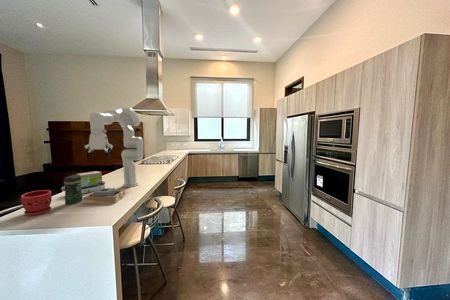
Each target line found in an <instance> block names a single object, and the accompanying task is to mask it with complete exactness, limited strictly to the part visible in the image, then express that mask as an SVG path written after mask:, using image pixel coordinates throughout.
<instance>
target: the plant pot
mask: <svg viewBox="0 0 450 300" xmlns="http://www.w3.org/2000/svg"><path fill="white" fill-rule="evenodd" d="M52 199H53V197H52V191H51V190H49V189H44V190H43V189H41V190H39V189H38V190H33V191H30V192H25V193H24V194H22V195H20V200H21V205H22V208H23V209H24V210H25V211H24V212H23V213H24V215H26V216H31V217H33V216H39V215H43V214H46V213H48V212H50V210H51V209H52V207H51V203H52Z"/></svg>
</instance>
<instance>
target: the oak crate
mask: <svg viewBox="0 0 450 300" xmlns="http://www.w3.org/2000/svg"><path fill="white" fill-rule="evenodd" d="M94 192H95V191H93V192H90V193H89V194H88V195H87V194H86V195H85V196H84V197H83V196H82V198H83V200H82V201H83V202H82V203H83V205H105V204H109V205H110V204H117V203H118V202H119V201H121V200H122V199H123V198H125V190H115V196H105V197H94Z"/></svg>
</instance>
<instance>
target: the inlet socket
mask: <svg viewBox="0 0 450 300" xmlns="http://www.w3.org/2000/svg"><path fill="white" fill-rule="evenodd" d="M115 191H116V189H115V187H109V188H107V187H106V188H101V189H99V190H97V191H93V192H94V197H105V196H115Z"/></svg>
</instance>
